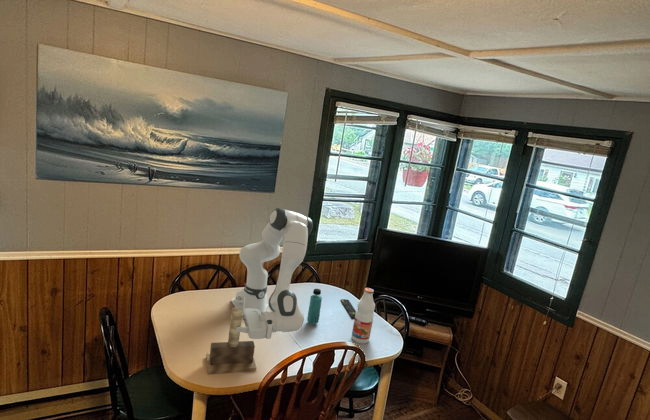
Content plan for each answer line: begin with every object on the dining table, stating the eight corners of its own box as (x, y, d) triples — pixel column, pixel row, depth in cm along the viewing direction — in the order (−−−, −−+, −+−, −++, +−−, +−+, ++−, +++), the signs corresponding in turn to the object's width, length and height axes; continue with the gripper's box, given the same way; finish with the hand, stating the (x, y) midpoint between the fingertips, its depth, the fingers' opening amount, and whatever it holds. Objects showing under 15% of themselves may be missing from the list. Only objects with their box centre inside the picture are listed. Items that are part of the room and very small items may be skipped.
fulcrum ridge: (207, 374, 169) (209, 353, 167) (206, 357, 180) (208, 337, 178) (256, 370, 176) (258, 350, 174) (251, 354, 187) (253, 336, 185)
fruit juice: (372, 341, 216) (382, 291, 210) (360, 345, 209) (370, 294, 203) (359, 332, 222) (368, 284, 216) (347, 337, 216) (356, 287, 210)
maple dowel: (225, 343, 176) (229, 308, 173) (235, 340, 179) (238, 306, 176) (231, 348, 173) (234, 313, 170) (240, 345, 176) (244, 311, 173)
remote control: (351, 319, 237) (351, 317, 236) (340, 301, 259) (340, 299, 259) (359, 320, 238) (360, 317, 238) (347, 301, 261) (348, 299, 260)
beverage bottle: (314, 328, 220) (319, 293, 216) (303, 323, 223) (309, 289, 219) (320, 324, 225) (325, 290, 221) (310, 319, 229) (315, 286, 224)
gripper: (263, 304, 188) (232, 305, 183) (272, 327, 169) (238, 328, 164) (261, 317, 189) (231, 317, 184) (270, 341, 170) (237, 342, 166)
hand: (234, 323), depth 174 cm, fingers open, 8 cm apart
